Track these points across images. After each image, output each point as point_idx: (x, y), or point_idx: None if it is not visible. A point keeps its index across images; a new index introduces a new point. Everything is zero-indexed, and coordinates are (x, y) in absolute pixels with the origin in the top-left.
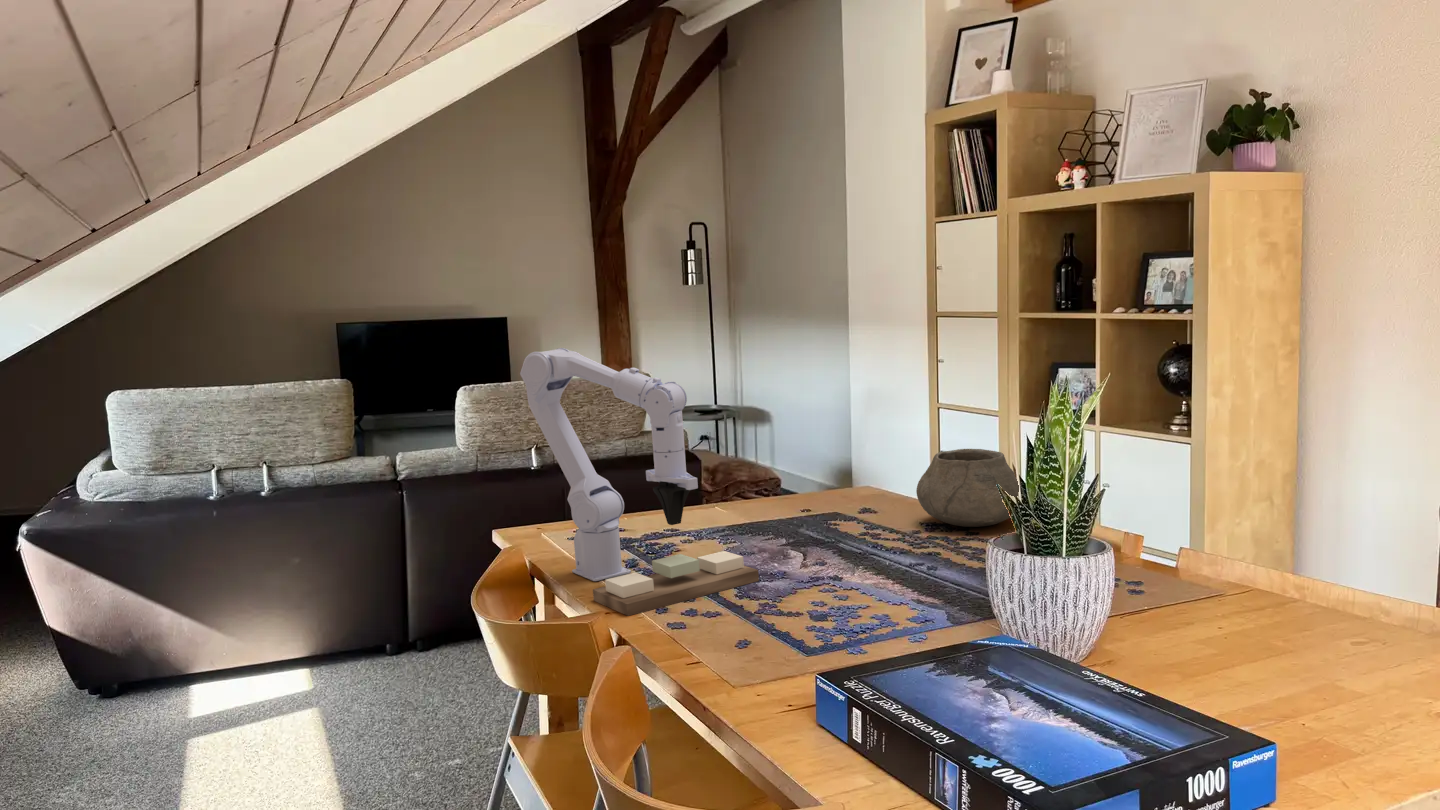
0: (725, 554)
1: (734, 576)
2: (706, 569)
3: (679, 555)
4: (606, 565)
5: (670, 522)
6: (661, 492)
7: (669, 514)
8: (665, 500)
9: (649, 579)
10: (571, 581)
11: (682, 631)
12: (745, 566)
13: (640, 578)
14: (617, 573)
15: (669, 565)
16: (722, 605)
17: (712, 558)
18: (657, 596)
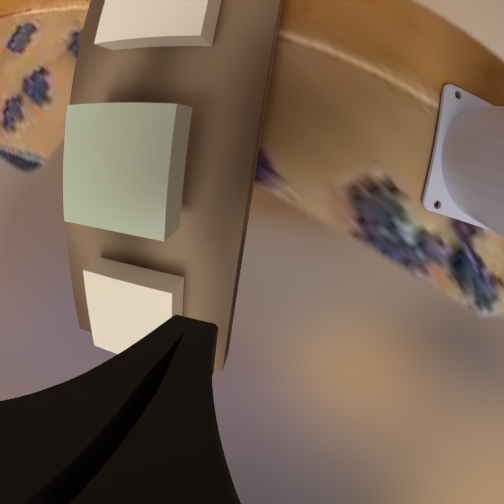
0: None
1: (70, 269)
2: (139, 269)
3: (147, 222)
4: (462, 131)
5: (169, 319)
6: (23, 466)
7: (134, 343)
8: (76, 412)
9: (99, 33)
10: (494, 72)
11: (4, 36)
12: None
13: (129, 16)
14: (437, 161)
15: (79, 113)
16: (25, 158)
17: (128, 304)
18: (81, 40)
